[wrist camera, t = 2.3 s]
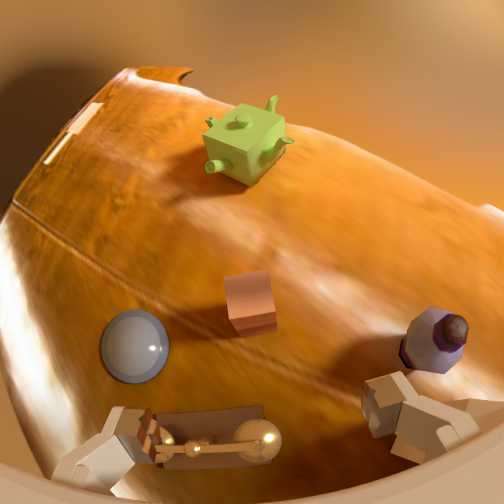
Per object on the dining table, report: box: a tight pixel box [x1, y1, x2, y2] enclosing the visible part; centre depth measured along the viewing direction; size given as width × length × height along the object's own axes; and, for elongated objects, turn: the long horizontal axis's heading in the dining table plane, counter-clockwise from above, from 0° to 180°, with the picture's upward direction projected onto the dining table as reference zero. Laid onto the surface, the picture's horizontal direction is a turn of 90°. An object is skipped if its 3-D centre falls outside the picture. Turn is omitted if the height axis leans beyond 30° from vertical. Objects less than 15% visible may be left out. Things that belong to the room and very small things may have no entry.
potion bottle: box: [399, 307, 469, 374], centre depth 30 cm, size 9×9×12 cm
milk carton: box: [390, 399, 504, 464], centre depth 21 cm, size 7×7×19 cm
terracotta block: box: [224, 269, 277, 337], centre depth 37 cm, size 5×5×9 cm
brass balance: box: [154, 405, 282, 470], centre depth 28 cm, size 8×18×11 cm, turn 99°
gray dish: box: [101, 310, 170, 384], centre depth 39 cm, size 11×11×1 cm
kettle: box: [202, 95, 295, 188], centre depth 49 cm, size 15×14×11 cm
